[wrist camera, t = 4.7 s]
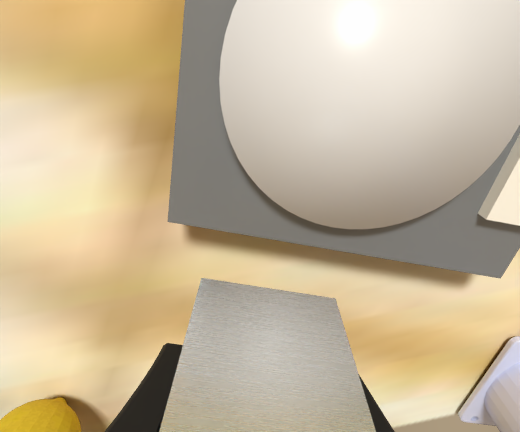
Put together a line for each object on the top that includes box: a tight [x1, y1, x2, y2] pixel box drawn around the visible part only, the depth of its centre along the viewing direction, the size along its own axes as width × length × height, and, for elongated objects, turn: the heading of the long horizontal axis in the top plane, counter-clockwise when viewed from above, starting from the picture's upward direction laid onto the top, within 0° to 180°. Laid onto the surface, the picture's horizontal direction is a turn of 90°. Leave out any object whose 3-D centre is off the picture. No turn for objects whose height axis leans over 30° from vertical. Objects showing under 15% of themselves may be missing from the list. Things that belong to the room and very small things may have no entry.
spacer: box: [159, 278, 376, 432], centre depth 9 cm, size 4×4×6 cm
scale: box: [168, 0, 520, 278], centre depth 13 cm, size 16×14×3 cm
